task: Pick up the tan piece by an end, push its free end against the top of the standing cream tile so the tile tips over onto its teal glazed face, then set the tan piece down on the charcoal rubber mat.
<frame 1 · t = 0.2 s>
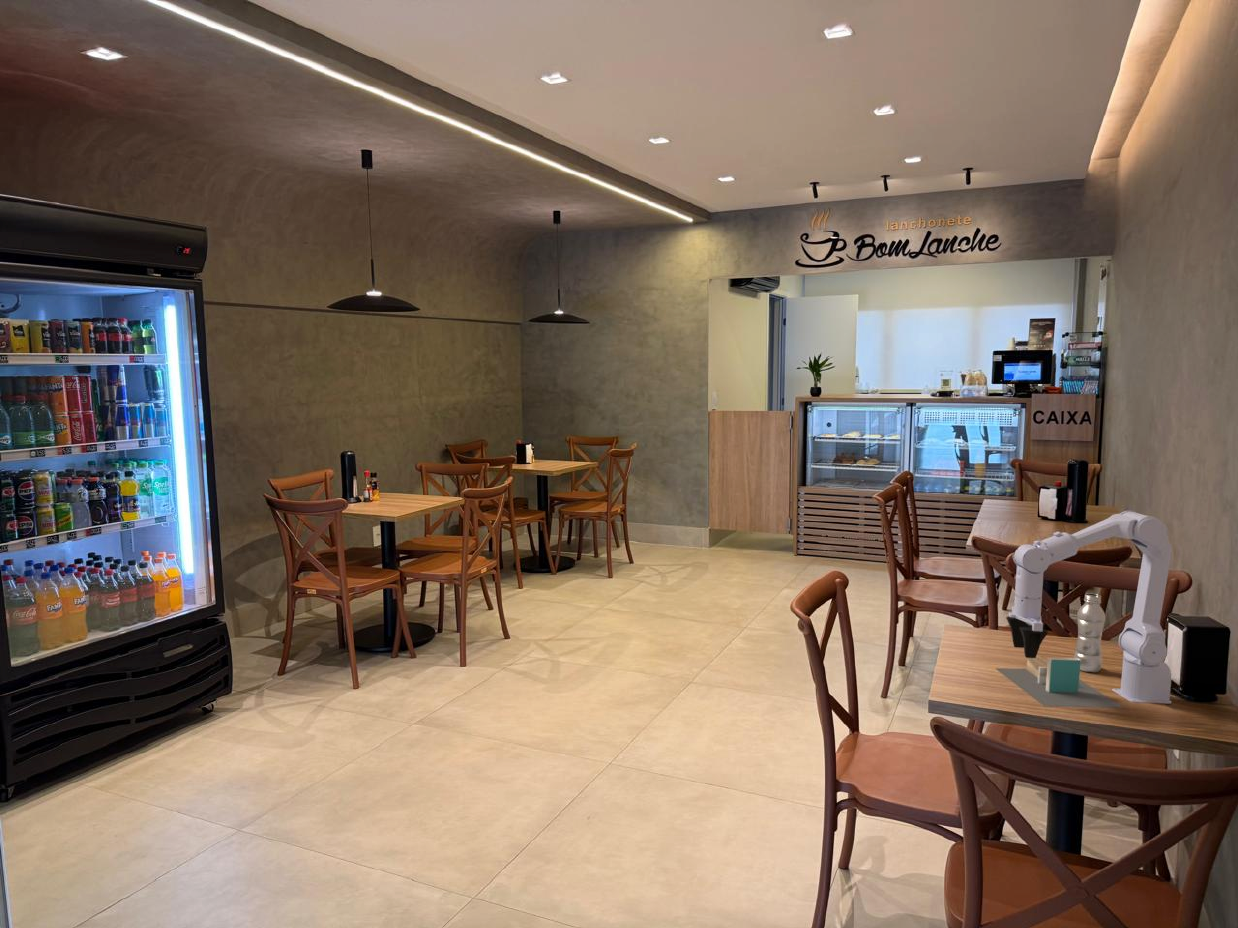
hand: (1024, 652, 197), 10 cm above the table, tool pointing down, fingers open, 7 cm apart
mat: (1055, 688, 201), on the table
tan piece: (1042, 677, 207), resting on mat
tile: (1061, 691, 198), resting on mat
plastic bottle: (1086, 671, 214), on the table
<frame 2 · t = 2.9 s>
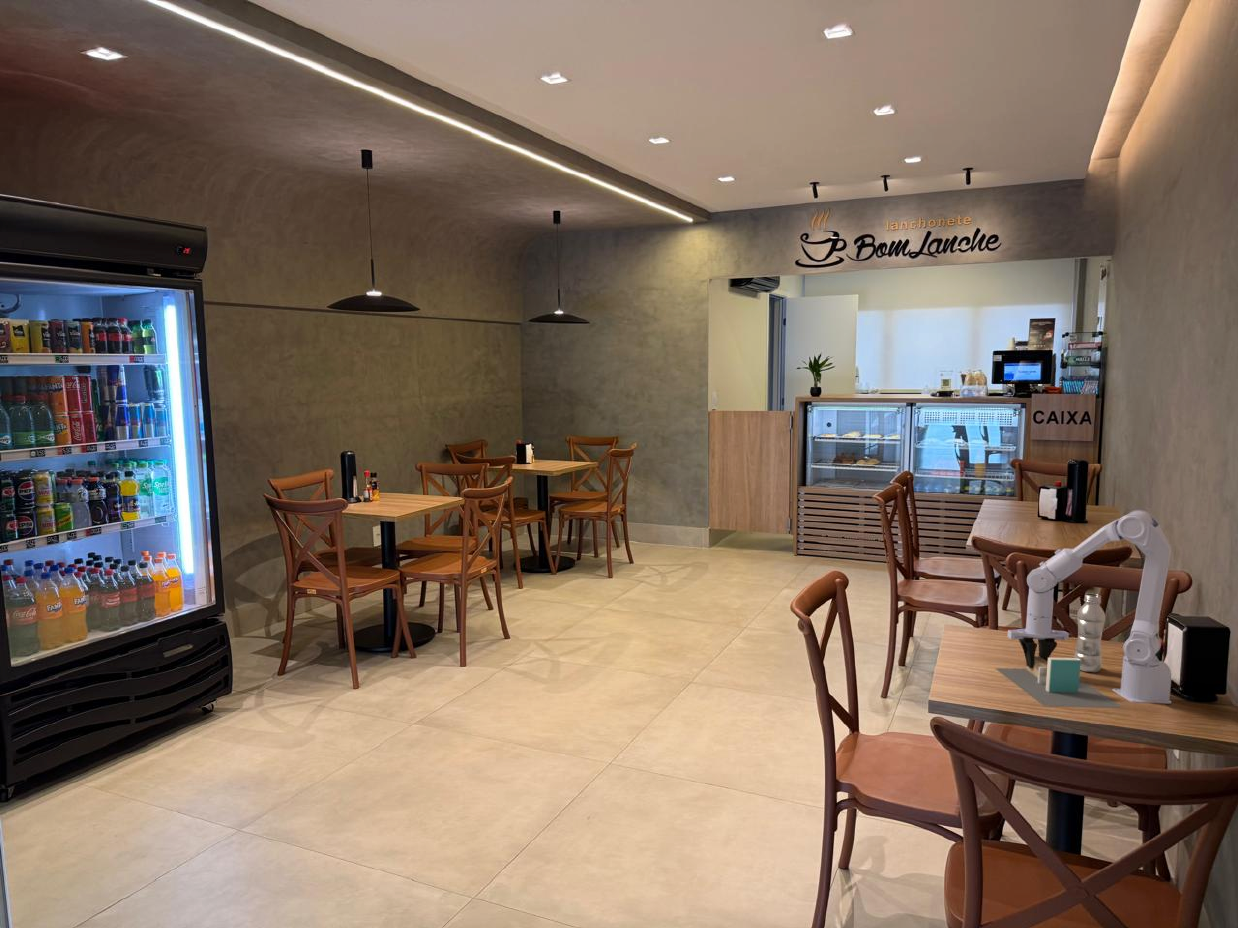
hand: (1035, 666, 211), 2 cm above the table, tool pointing down, fingers closed on tan piece, 2 cm apart
tan piece: (1042, 677, 207), resting on mat, touching gripper
everything else where it was.
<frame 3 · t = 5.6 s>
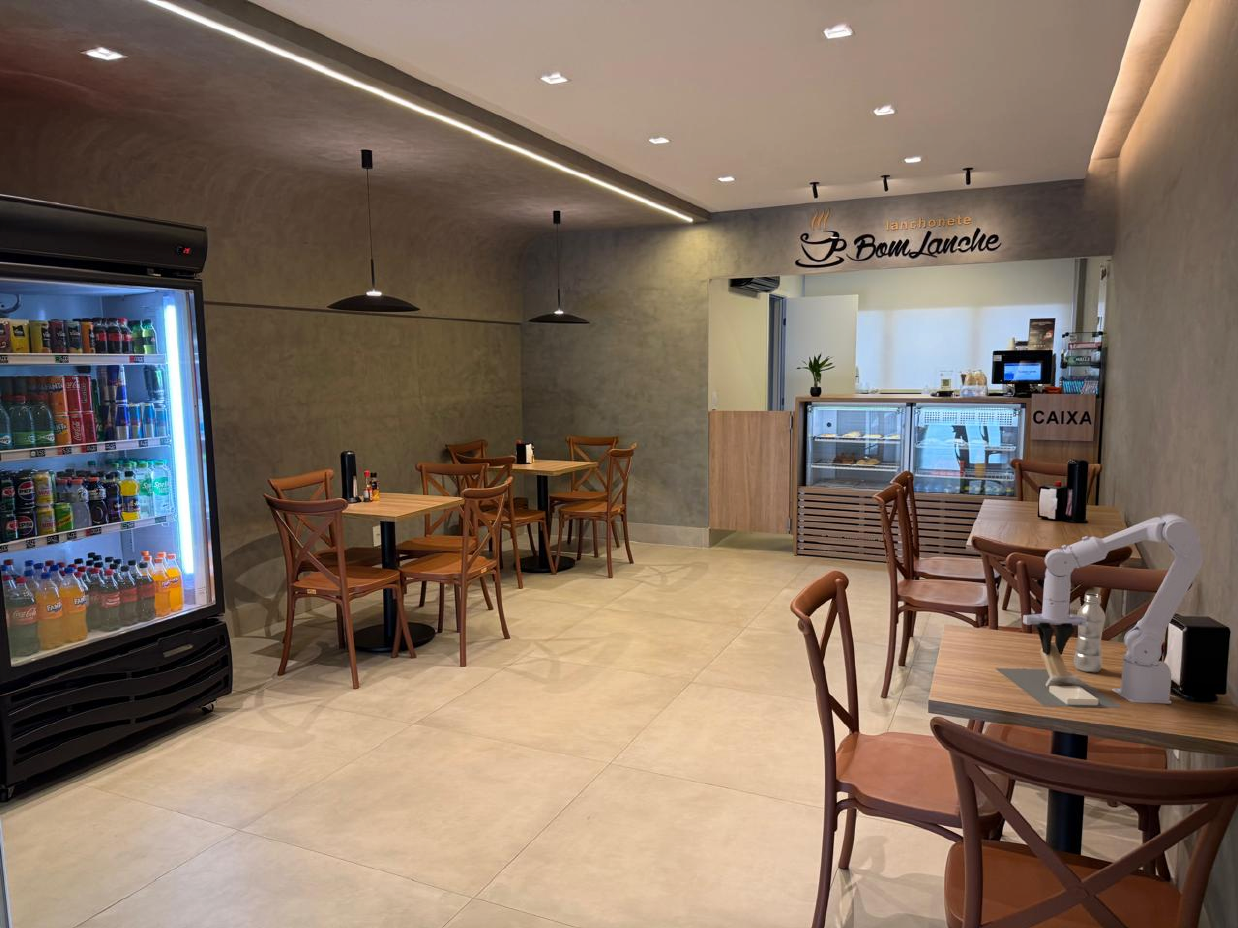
hand: (1052, 653, 203), 8 cm above the table, tool pointing down, fingers closed on tan piece, 2 cm apart
tan piece: (1052, 671, 203), point 4 cm above the table, tilted 38°, touching gripper
tile: (1064, 688, 197), point 1 cm above the table, tilted 90°, touching mat
everything else where it was.
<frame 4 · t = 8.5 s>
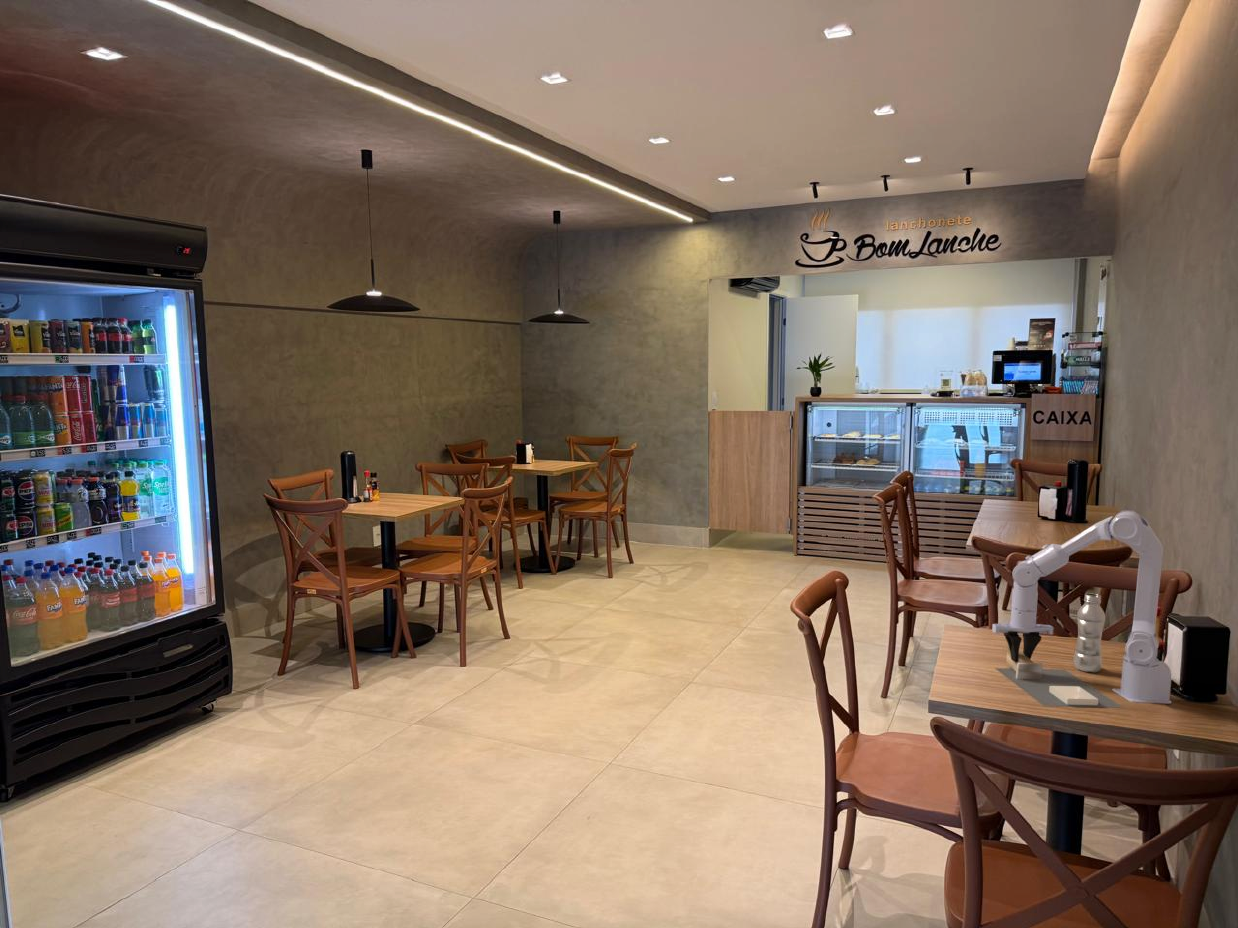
hand: (1020, 660, 210), 3 cm above the table, tool pointing down, fingers closed on tan piece, 2 cm apart
tan piece: (1020, 671, 210), point 1 cm above the table, touching gripper, mat
everything else where it was.
when the fingers open (3 cm above the table, at t = 8.8 s): tan piece stays where it is, resting on mat.
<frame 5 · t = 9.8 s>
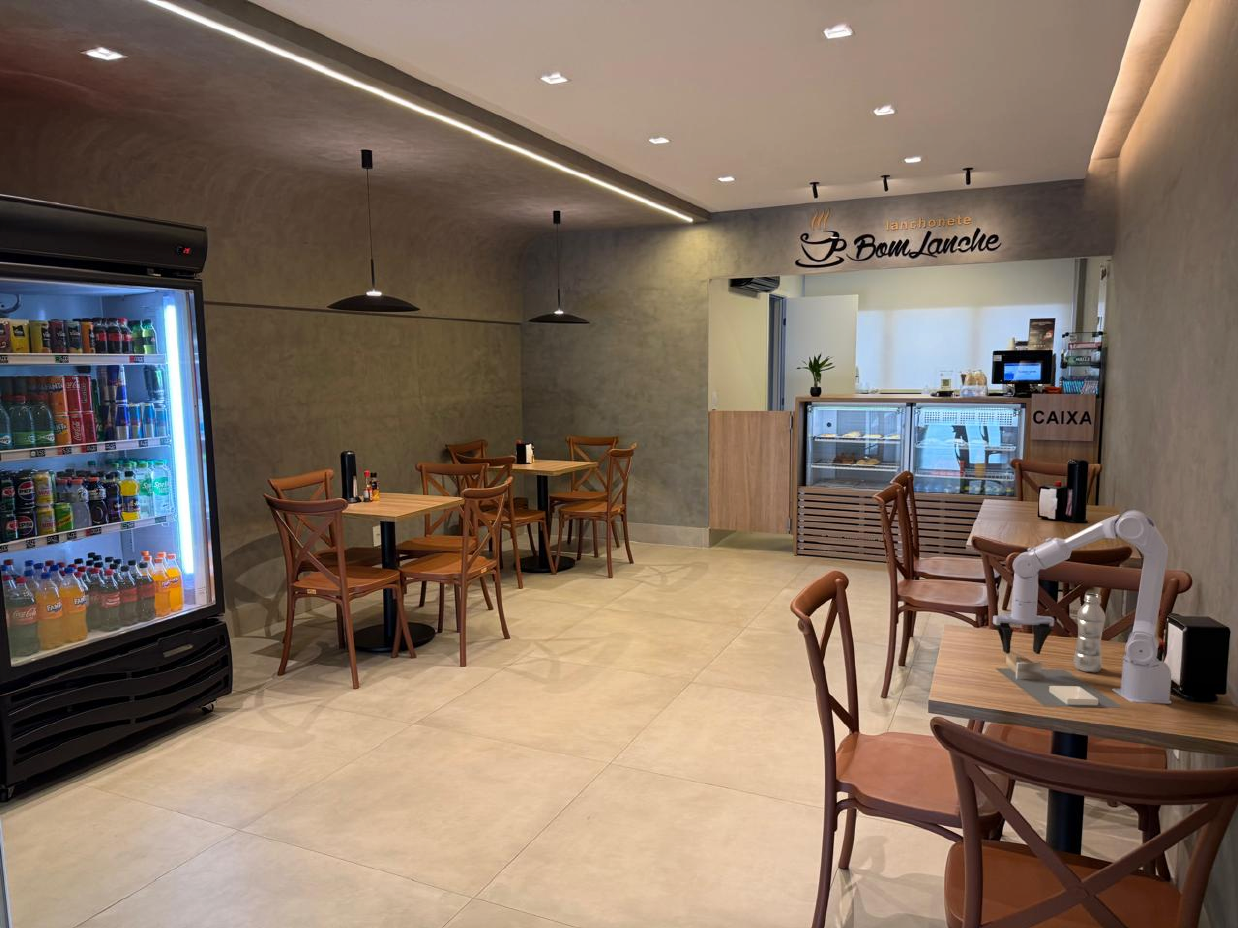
hand: (1021, 652, 210), 6 cm above the table, tool pointing down, fingers open, 7 cm apart
tan piece: (1020, 673, 210), resting on mat
everything else where it was.
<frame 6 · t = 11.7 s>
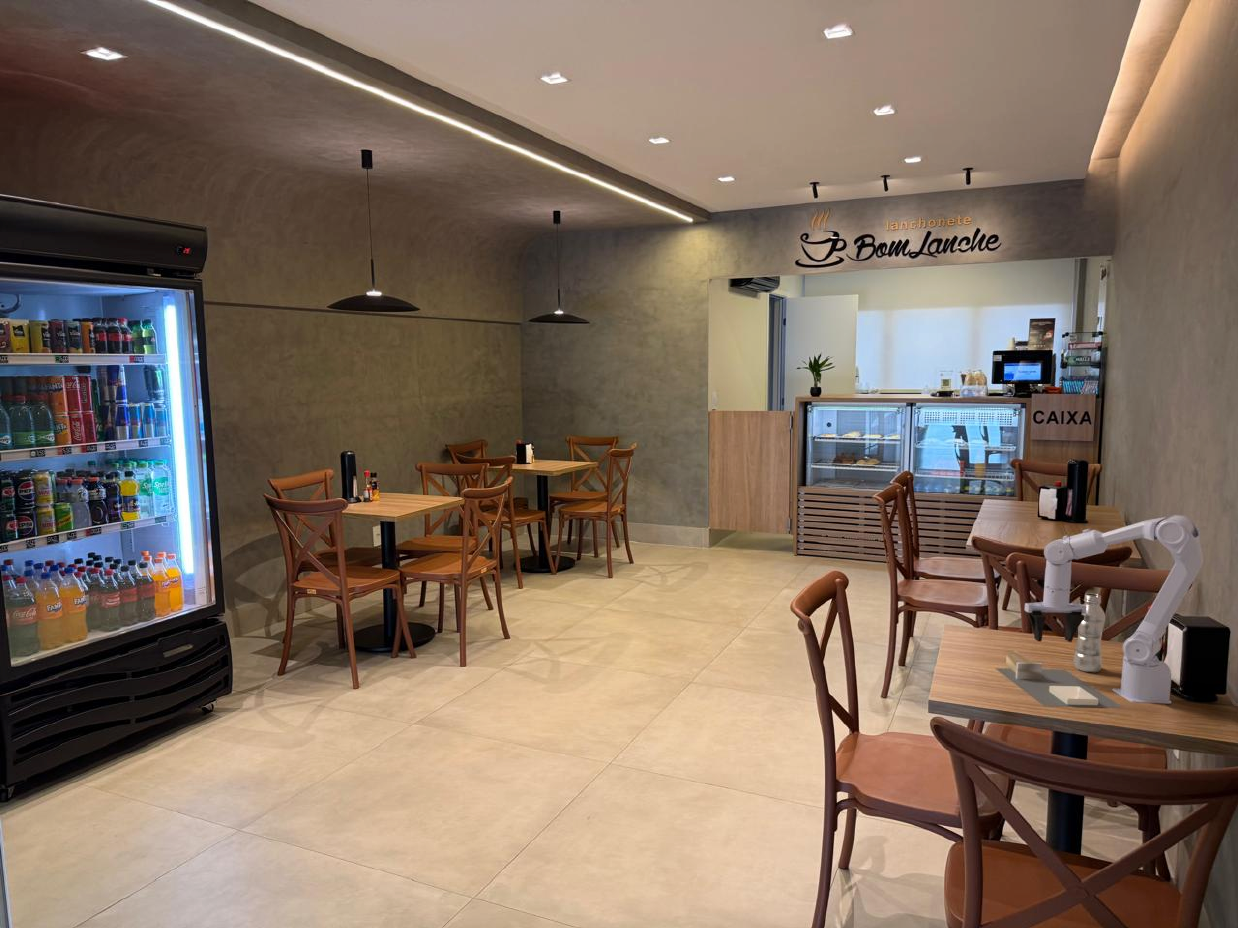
hand: (1053, 640, 208), 9 cm above the table, tool pointing down, fingers open, 7 cm apart
nothing on the table moved.
at the end: tile tilted 90°; tile inside the target area (0.1 cm from its centre), point 1.3 cm above the table; tan piece touching mat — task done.
